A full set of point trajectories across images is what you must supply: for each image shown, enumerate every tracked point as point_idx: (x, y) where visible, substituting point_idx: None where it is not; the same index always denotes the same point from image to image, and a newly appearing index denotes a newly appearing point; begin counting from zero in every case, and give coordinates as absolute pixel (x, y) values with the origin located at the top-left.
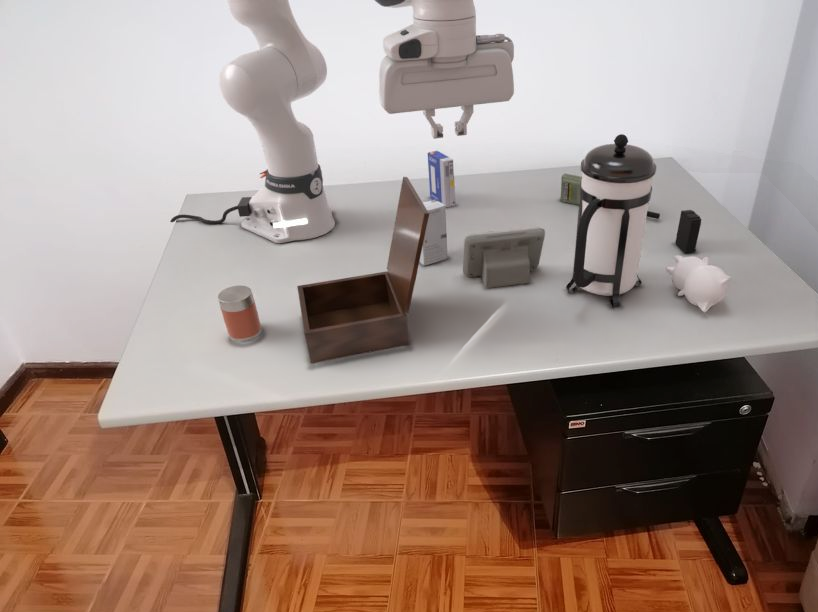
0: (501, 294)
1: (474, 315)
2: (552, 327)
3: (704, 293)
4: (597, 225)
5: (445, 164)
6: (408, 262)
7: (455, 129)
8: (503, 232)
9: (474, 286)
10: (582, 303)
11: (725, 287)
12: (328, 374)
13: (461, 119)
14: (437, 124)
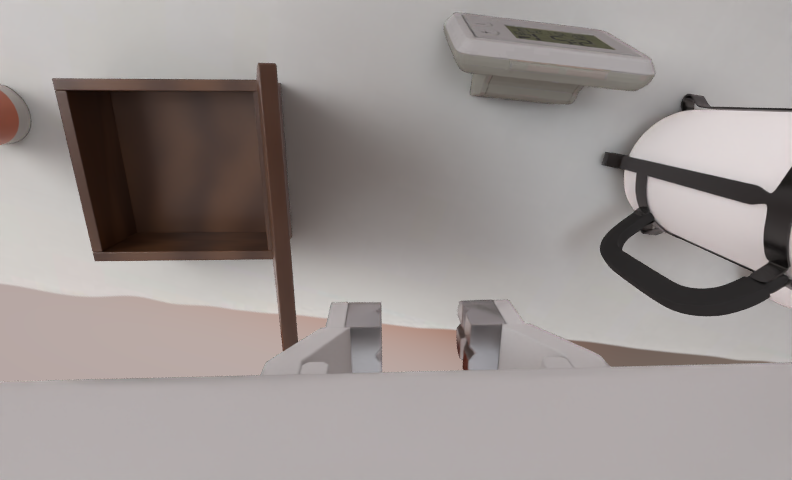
0: (488, 124)
1: (418, 177)
2: (523, 249)
3: (776, 301)
4: (731, 247)
5: None
6: (273, 259)
7: (463, 317)
8: (554, 66)
9: (451, 76)
10: (604, 200)
11: None
12: (162, 261)
13: (511, 350)
14: (363, 337)
